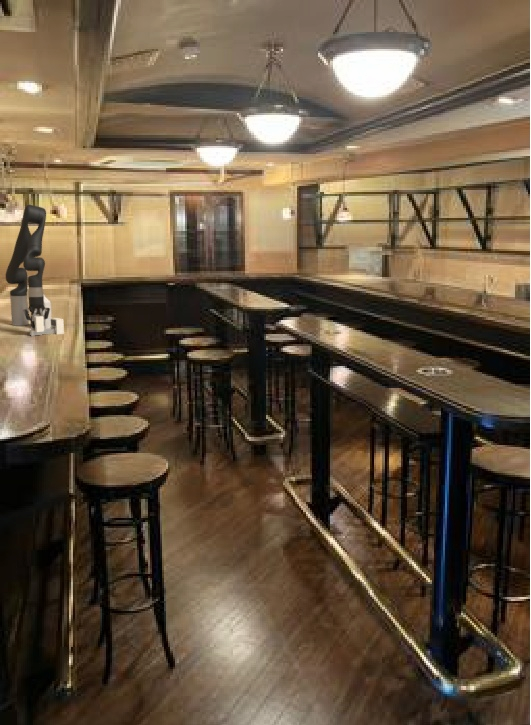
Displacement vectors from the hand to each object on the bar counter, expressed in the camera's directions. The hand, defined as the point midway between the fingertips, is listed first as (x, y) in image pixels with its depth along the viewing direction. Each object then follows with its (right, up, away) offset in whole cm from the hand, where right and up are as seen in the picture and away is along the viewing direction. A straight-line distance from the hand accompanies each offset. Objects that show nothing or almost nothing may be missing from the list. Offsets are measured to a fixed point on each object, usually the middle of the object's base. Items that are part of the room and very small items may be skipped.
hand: (37, 327), depth 331 cm
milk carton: (-5, +1, +23) cm, 24 cm away
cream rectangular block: (0, -2, 0) cm, 2 cm away
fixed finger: (+8, -3, +8) cm, 12 cm away
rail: (+3, -4, +4) cm, 6 cm away
